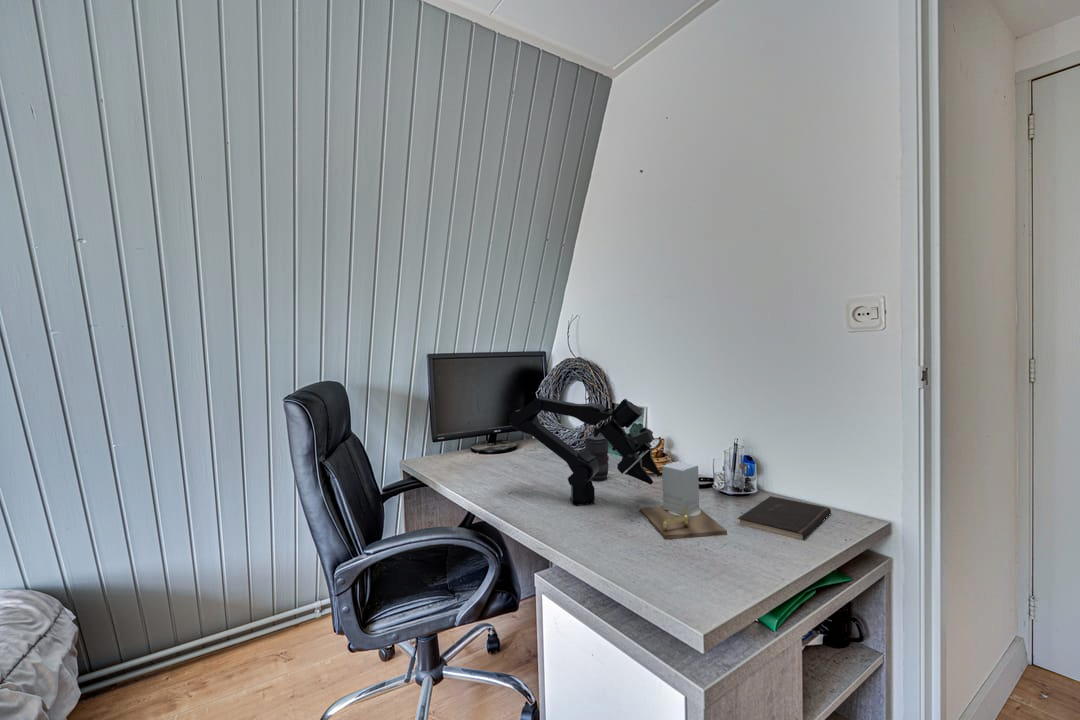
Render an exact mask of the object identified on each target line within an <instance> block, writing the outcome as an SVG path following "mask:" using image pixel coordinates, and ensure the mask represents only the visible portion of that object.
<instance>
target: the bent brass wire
mask: <svg viewBox="0 0 1080 720" xmlns="http://www.w3.org/2000/svg"><path fill="white" fill-rule="evenodd" d="M688 520H689V517H688V513H687V508H683V516H679V517H673V518H668V519H664V521H663V531H664V532H667V524H672V523H677V522H682V521H684V527H685V528H688Z"/></svg>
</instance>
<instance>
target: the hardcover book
mask: <svg viewBox="0 0 1080 720" xmlns="http://www.w3.org/2000/svg"><path fill="white" fill-rule="evenodd" d="M829 514H832V510H831V508H829V507H827V506H822V505H817V504H811V503H807V502H802V501H797V500H791V499H787V498H782V497H777V496H771V495H770V496H769V497H767V498H765V499H764V500H763V501H761V502H760V503H758V504H756V505H754V507H752V508H751V509H749V510H748V511H746V512H745V513H743V514H742V515H740V516H739V517H738V518H737V520H739V525H740V526H745V527H749V528H752V529H756V530H761V531H763V532H770V533H773V534H776V535H781V536H785V537H789V538H793V539H796V538H797V540H800V539H802V540H801V541H803V540H804V539H805V538H806V537H807V536H808V535H809V534H810V533H811V532H812V531H813V530H814V529H815V528H816V527H817V528H818V527H819V526H820V525H822V524H823V522H824V521H825V520H826V519H827V518H828V517H829ZM827 516H828V517H827ZM826 517H827V518H826ZM825 518H826V519H825ZM824 519H825V520H824ZM823 520H824V521H823ZM822 521H823V522H822ZM817 528H816V529H817ZM816 529H815V530H816ZM815 530H814V531H815ZM814 531H813V532H814ZM813 532H812V533H813ZM812 533H811V534H812ZM811 534H810V535H811ZM810 535H809V536H810ZM809 536H808V537H809ZM808 537H807V538H808ZM807 538H806V539H807ZM806 539H805V540H806ZM805 540H804V541H805Z"/></svg>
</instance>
